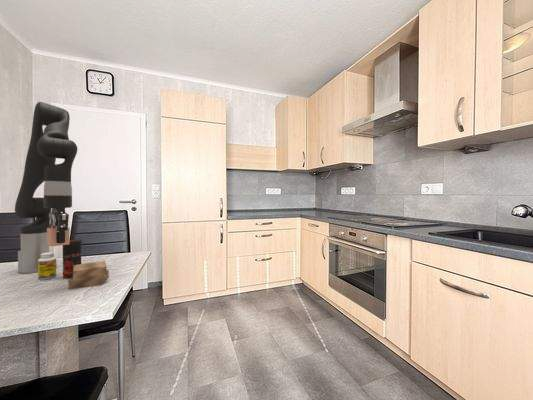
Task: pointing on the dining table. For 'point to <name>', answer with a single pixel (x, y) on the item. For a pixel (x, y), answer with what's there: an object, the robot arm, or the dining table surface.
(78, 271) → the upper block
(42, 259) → the supplement bottle
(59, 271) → the dining table surface
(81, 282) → the lower block
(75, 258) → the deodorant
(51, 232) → the clay block
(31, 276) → the dining table surface
